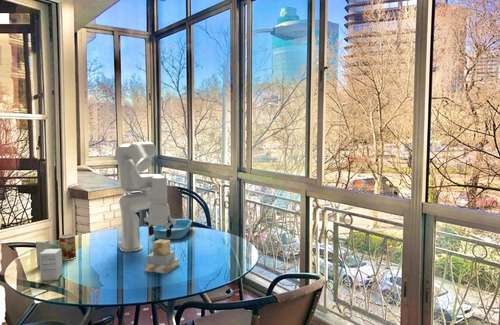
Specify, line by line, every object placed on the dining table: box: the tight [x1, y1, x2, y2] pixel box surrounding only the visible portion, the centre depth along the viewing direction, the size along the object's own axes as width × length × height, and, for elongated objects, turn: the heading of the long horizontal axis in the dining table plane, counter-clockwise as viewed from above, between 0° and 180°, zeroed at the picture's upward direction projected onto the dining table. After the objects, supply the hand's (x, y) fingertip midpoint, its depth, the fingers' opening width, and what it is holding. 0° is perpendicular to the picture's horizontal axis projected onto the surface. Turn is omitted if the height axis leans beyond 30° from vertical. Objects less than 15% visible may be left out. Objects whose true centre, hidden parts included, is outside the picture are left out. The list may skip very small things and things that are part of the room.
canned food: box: [58, 233, 77, 260], centre depth 213 cm, size 8×8×12 cm
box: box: [35, 239, 51, 267], centre depth 201 cm, size 5×4×13 cm
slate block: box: [146, 250, 176, 265], centre depth 196 cm, size 10×10×4 cm
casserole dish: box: [153, 218, 193, 240], centre depth 262 cm, size 37×22×7 cm, turn 179°
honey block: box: [152, 239, 171, 256], centre depth 195 cm, size 6×6×6 cm
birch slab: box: [144, 257, 180, 274], centre depth 196 cm, size 12×12×4 cm
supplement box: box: [39, 248, 64, 282], centre depth 184 cm, size 7×7×13 cm
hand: (160, 236), depth 195 cm, fingers open, 9 cm apart
